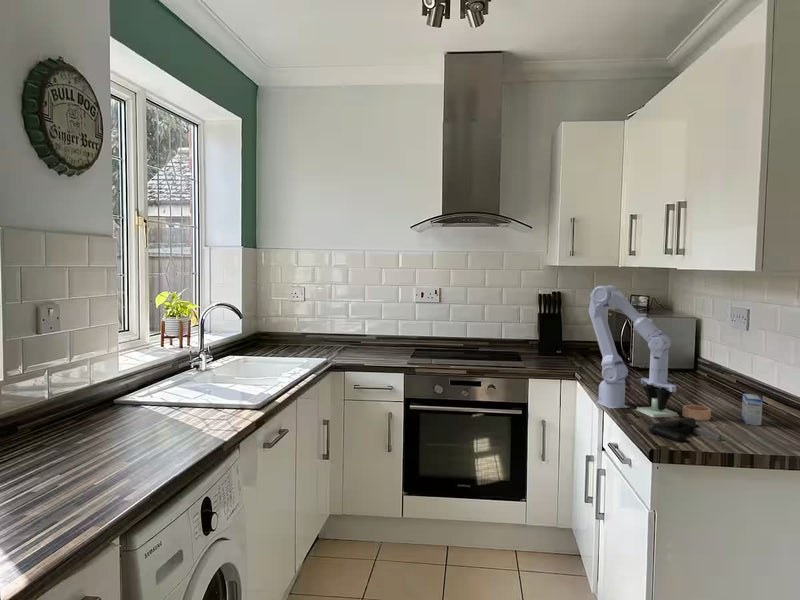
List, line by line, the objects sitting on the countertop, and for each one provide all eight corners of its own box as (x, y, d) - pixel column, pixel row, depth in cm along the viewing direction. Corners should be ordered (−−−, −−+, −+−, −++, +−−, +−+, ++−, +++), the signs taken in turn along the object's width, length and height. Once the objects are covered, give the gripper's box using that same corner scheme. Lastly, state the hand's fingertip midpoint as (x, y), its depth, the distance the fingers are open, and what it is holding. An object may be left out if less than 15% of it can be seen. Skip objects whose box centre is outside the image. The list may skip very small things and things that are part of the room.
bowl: (677, 415, 196) (678, 405, 196) (698, 414, 198) (698, 404, 197) (694, 422, 188) (694, 411, 188) (715, 421, 190) (716, 410, 189)
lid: (636, 409, 201) (637, 396, 201) (660, 408, 203) (660, 395, 203) (653, 416, 192) (653, 402, 192) (677, 415, 194) (678, 401, 194)
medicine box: (741, 418, 193) (742, 393, 193) (756, 420, 192) (757, 394, 191) (745, 424, 186) (747, 398, 186) (761, 426, 184) (763, 399, 184)
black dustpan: (734, 430, 172) (685, 414, 186) (691, 439, 162) (643, 422, 176) (732, 441, 172) (684, 424, 186) (690, 451, 163) (642, 432, 177)
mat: (634, 410, 202) (634, 409, 202) (660, 409, 204) (660, 408, 204) (652, 418, 192) (652, 417, 192) (680, 417, 194) (680, 415, 194)
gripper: (634, 366, 202) (632, 403, 203) (665, 373, 189) (663, 414, 190) (650, 365, 205) (648, 402, 205) (682, 372, 191) (680, 412, 192)
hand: (656, 408), depth 198 cm, fingers closed on lid, 4 cm apart
